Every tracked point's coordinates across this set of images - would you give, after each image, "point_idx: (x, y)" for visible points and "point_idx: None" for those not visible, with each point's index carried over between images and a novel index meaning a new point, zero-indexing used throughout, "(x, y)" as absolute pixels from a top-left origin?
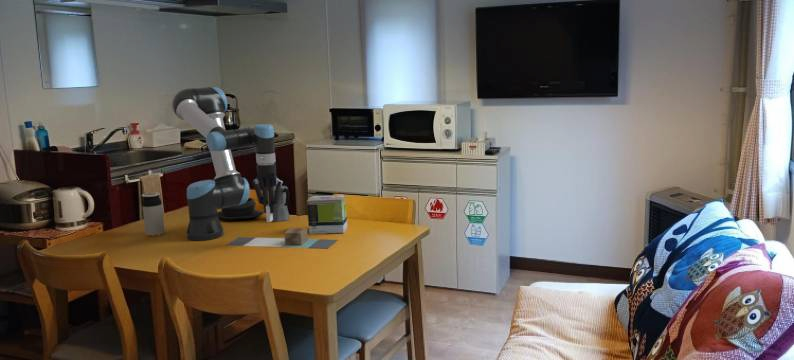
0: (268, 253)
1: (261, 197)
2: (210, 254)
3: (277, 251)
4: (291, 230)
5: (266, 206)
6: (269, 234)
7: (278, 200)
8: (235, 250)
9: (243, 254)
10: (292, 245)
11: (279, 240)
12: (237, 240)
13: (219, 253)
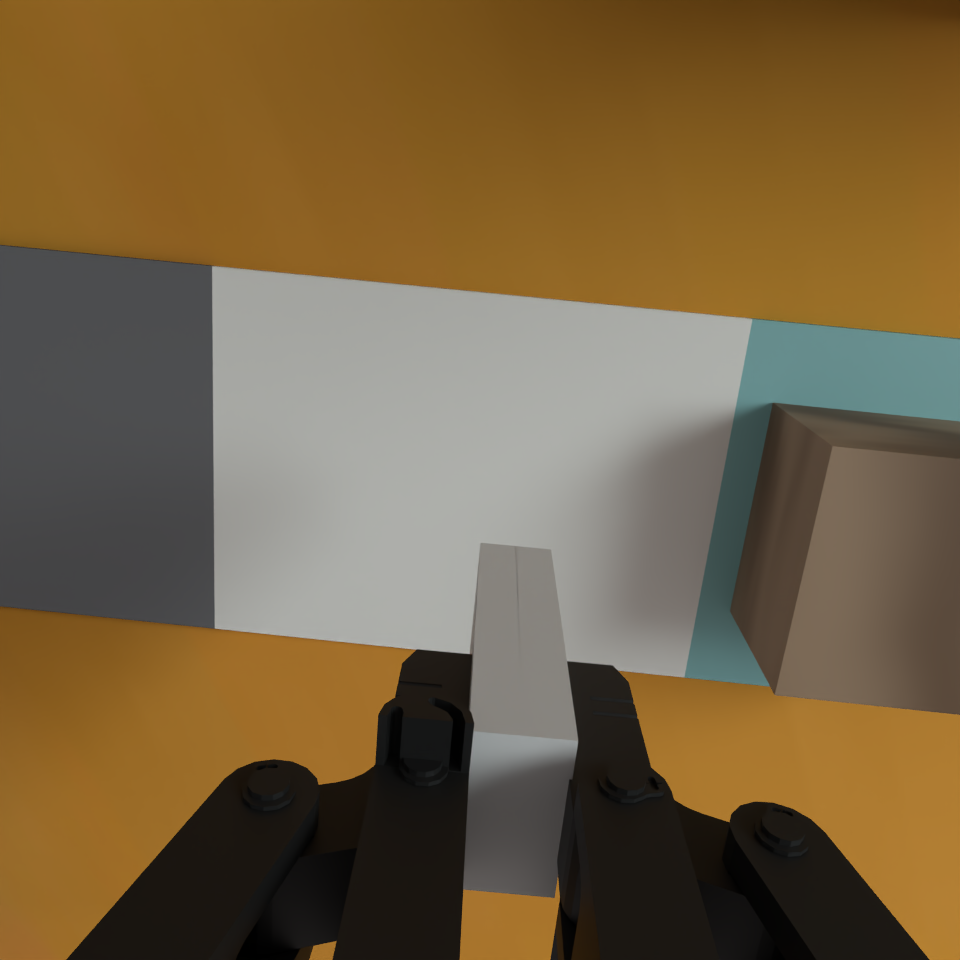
0: None
1: (203, 938)
2: (21, 880)
3: None
4: (863, 575)
5: (475, 883)
6: (331, 50)
7: (857, 890)
8: (210, 768)
9: None
10: None
11: (600, 416)
12: (25, 410)
13: (94, 854)
